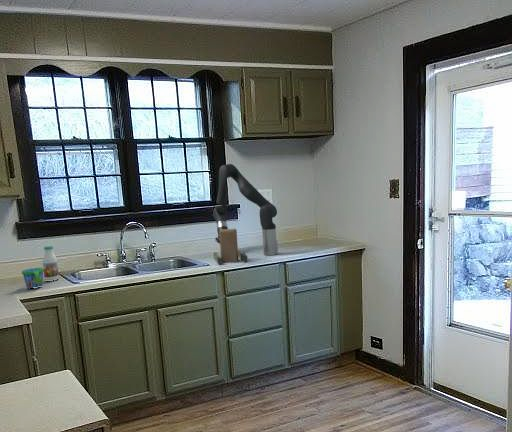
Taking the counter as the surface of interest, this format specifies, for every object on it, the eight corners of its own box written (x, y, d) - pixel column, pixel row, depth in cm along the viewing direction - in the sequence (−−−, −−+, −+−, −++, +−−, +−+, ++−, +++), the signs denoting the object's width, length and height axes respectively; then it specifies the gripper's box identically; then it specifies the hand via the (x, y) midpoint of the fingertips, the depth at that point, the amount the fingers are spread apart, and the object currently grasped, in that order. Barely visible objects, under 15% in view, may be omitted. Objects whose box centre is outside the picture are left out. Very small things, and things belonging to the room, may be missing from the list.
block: (236, 262, 291) (234, 230, 289) (221, 262, 292) (218, 231, 290) (238, 259, 301) (236, 228, 299) (223, 259, 302) (221, 229, 300)
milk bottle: (42, 281, 268) (38, 247, 266) (55, 278, 273) (51, 245, 272) (48, 282, 263) (44, 247, 261) (61, 279, 268) (58, 245, 267)
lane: (240, 255, 312) (240, 250, 312) (247, 262, 287) (247, 256, 287) (214, 258, 309) (213, 252, 309) (218, 265, 284) (218, 258, 283)
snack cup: (21, 287, 254) (19, 269, 253) (42, 284, 260) (40, 266, 259) (26, 292, 241) (24, 273, 240) (48, 288, 247) (46, 269, 246)
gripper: (213, 226, 321) (216, 246, 310) (232, 224, 323) (236, 244, 312) (212, 233, 326) (216, 253, 315) (231, 231, 329) (235, 251, 318)
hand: (226, 248), depth 314 cm, fingers closed
